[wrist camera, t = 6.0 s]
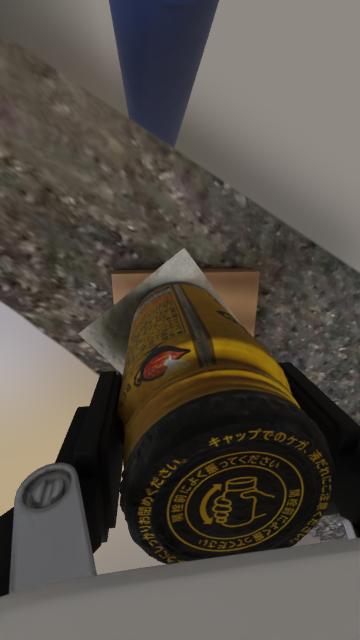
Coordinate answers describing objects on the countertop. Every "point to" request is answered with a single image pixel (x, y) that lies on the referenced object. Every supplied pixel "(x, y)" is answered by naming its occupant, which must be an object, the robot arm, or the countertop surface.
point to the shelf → (228, 282)
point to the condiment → (207, 425)
